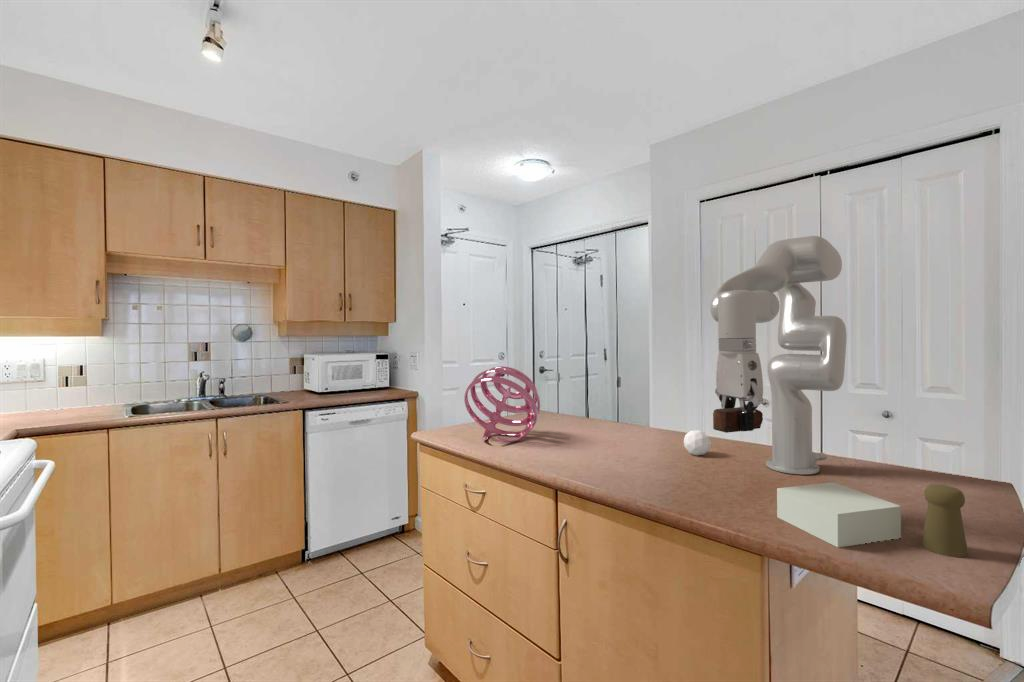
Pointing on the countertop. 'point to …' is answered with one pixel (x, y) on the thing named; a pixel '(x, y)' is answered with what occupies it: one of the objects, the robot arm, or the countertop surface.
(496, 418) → the spiral basket
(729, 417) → the brick
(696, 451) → the ball
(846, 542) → the sage block
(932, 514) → the cork
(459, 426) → the countertop surface
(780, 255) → the robot arm
